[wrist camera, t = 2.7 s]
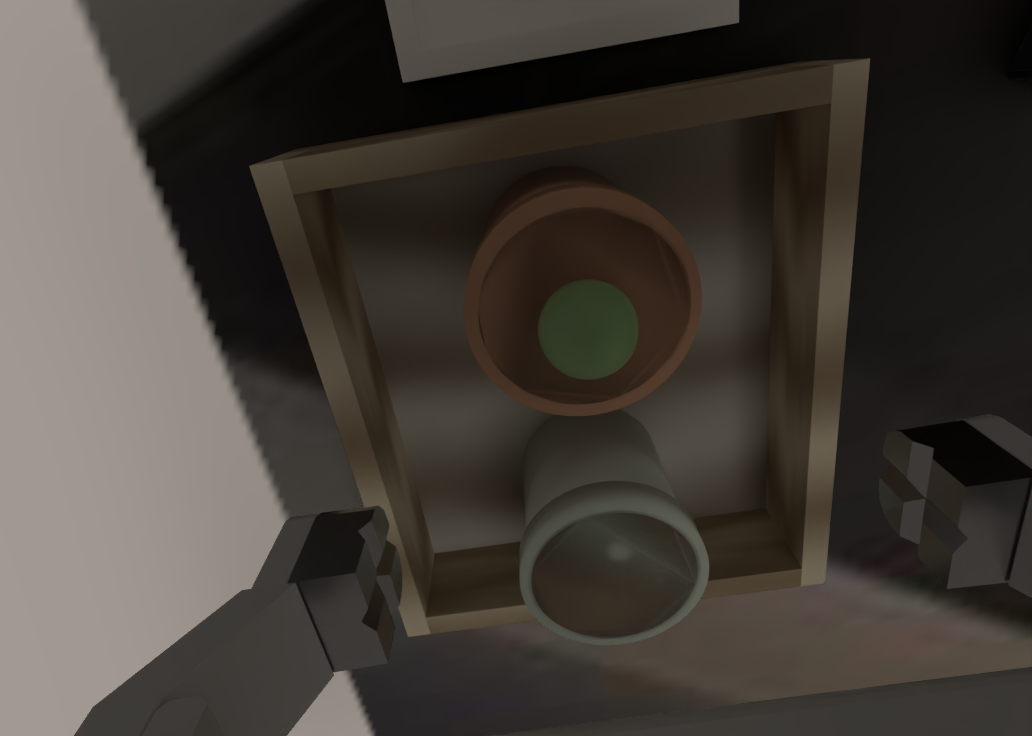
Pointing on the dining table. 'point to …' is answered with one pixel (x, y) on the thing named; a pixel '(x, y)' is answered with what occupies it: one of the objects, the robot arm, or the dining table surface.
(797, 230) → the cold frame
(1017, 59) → the ammunition clip
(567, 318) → the sprouted pot
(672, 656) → the dining table surface
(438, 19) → the tray
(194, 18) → the dining table surface
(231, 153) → the dining table surface
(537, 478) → the sage pot
